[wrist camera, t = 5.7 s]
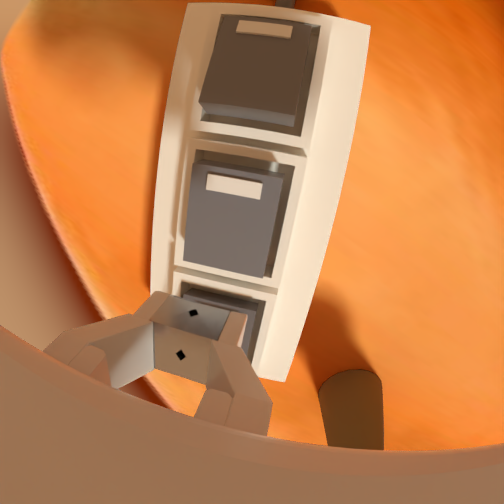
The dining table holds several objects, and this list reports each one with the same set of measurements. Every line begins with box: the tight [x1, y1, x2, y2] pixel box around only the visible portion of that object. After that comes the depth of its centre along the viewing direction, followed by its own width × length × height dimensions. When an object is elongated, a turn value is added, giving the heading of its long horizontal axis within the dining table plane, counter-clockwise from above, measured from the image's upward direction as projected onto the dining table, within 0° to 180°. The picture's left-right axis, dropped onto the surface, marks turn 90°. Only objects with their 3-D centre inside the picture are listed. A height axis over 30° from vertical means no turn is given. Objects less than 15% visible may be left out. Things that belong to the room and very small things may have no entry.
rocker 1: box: [198, 16, 312, 127], centre depth 12 cm, size 4×5×2 cm
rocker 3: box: [183, 288, 259, 357], centre depth 17 cm, size 4×5×2 cm
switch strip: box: [150, 0, 371, 382], centre depth 16 cm, size 10×29×6 cm, turn 170°
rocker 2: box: [183, 159, 285, 279], centre depth 14 cm, size 4×5×2 cm
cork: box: [319, 369, 384, 450], centre depth 20 cm, size 6×6×11 cm
